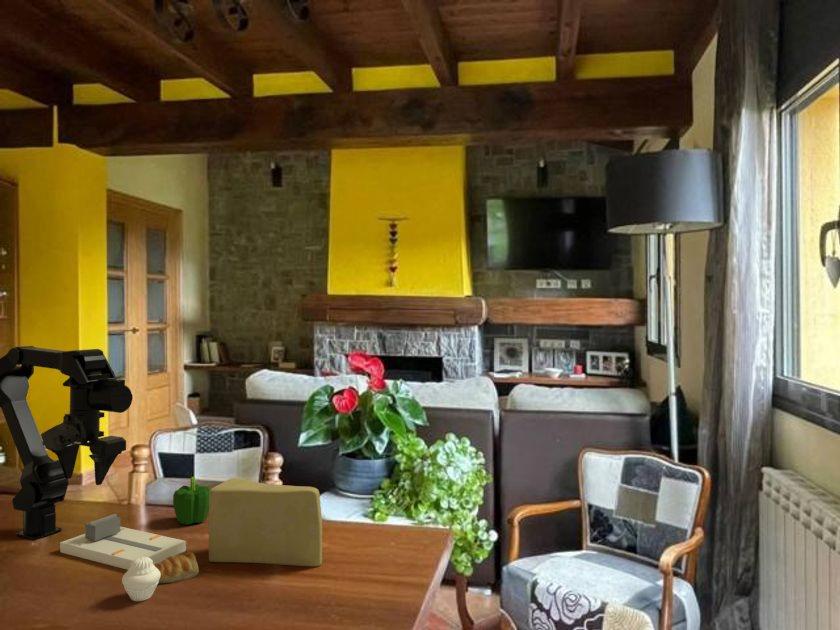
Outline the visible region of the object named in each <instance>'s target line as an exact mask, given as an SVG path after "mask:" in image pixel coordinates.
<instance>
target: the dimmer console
mask: <svg viewBox="0 0 840 630" xmlns="http://www.w3.org/2000/svg"><path fill="white" fill-rule="evenodd" d="M59 548H60V549H59V550H60V553H62V554H66V555H69V556H74V557H76V558H81V559H86V560H89V561H93V562H96V563H99V564H104V565H107V566H112V567H115V568H119V569H124V570H127V571H128V570H129V568H130V565H131V562H132V561H134V560H135V559H137V558H140V557H148V558H150V559H151V560H152V561H153V564H156V563H160V562H162V561H163V560H165V559H167V558H168V557H170V556H175V555H181V554H182V553H184V552H187V551H186V550H187V541H186V540H183V539H179V538H174V537H171V536H165V535H162V534H156V533H152V532H147V531H143V530H138V529H133V528H128V527H124V526H120V532H118V533H115V534H113V535H110V536H107V537H105V538H102V539H99V540H96V541H94V540H89V539H85V533H84V534H83V533H82V534H80V535H78V536H74V537H72V538H69V539H66V540H64V541H61V542H60V543H59Z"/></svg>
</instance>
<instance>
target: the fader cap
mask: <svg viewBox="0 0 840 630" xmlns="http://www.w3.org/2000/svg"><path fill="white" fill-rule="evenodd" d="M121 522H122V521H121V517H119V516H117V514H116V513H113V514H109V515H108V516H104V517H102V518H98V519H96V520H93V521H89V522H87V523H85V525H84V527H85V529H84V534H85V539H89V540H94V541H96V540H99V539H102V538H105V537H107V536H110V535H113V534H115V533H118V532H120V527H121Z"/></svg>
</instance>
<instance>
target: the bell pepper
mask: <svg viewBox="0 0 840 630" xmlns="http://www.w3.org/2000/svg"><path fill="white" fill-rule="evenodd" d="M210 490H211V488H210V486H205V485H204V486H203V485H200V484H198V483H196V478H195V476H191V477H190V486H188V485H182V486H181V487H179V488H178V489H177V490H175V491H174V494H173V495H172V496H173V497H172V499H173V501H172V503H173V504H172V505H173V509H174V514H175V517H176V519H177V521H178V523H180V524H182V525H187V526H188V525H192V524H197V523H199V524H200V523H203V522H205V521H206V519H207V518H208V516H209V492H210Z"/></svg>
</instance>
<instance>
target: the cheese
mask: <svg viewBox="0 0 840 630" xmlns="http://www.w3.org/2000/svg"><path fill="white" fill-rule="evenodd" d="M320 495H321V494H320V491H319V489H318V488H316V487H313V486H303V485H302V486H300V485H299V486H297V485H284V484H269V483H264V482H263V483H262V482H258V481H253V480H248V479H243V478H239V477H238V478H237V477H234V478H230V479H228V480H225V481H223V482H222V483H219V484H216V485H215V486H213V487H212V488H210V492H209V512H208V561H209V562H211V563H239V564H241V563H247V564H248V563H249V564H267V565H269V564H271V565H279V566H295V567H309V568H310V567H311V568H312V567H319V566H321V564H322V563H323V515H322V507H321V506H322V505H321V496H320Z"/></svg>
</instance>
